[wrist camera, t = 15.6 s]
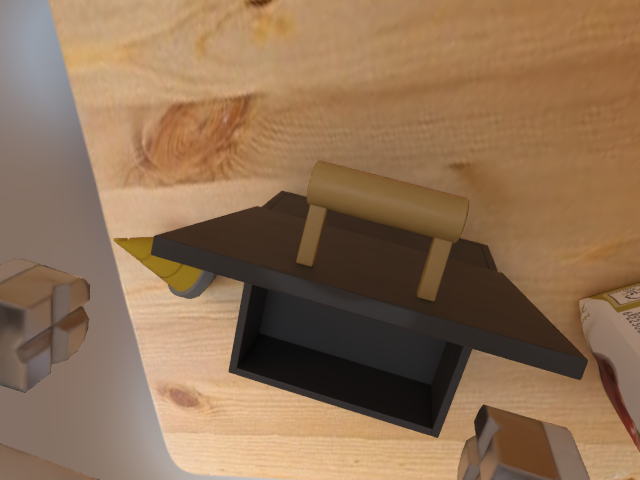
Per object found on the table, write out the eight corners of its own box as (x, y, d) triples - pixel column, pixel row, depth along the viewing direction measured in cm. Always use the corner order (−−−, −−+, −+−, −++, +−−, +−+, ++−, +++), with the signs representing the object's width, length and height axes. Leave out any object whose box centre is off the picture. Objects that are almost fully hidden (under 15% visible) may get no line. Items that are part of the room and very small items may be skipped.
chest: (435, 388, 41) (438, 438, 36) (253, 333, 43) (228, 372, 37) (488, 245, 37) (500, 276, 31) (281, 190, 38) (257, 209, 33)
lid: (581, 381, 17) (633, 243, 16) (149, 255, 19) (174, 124, 18) (499, 285, 31) (524, 207, 30) (254, 217, 32) (270, 142, 32)
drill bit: (196, 295, 44) (86, 265, 37) (219, 239, 44) (114, 198, 37) (229, 314, 40) (113, 285, 33) (254, 253, 40) (144, 210, 33)
